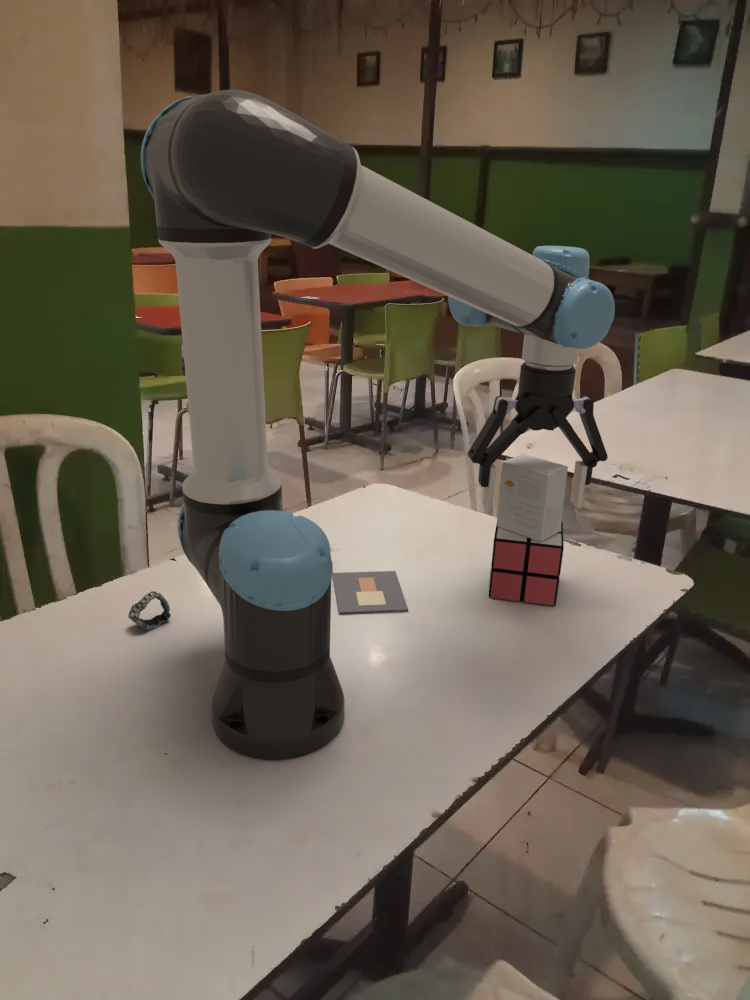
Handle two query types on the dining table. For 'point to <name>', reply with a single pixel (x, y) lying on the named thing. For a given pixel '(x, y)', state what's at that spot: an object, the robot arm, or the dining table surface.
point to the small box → (531, 496)
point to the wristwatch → (142, 605)
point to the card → (369, 592)
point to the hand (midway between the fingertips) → (531, 505)
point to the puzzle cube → (525, 568)
